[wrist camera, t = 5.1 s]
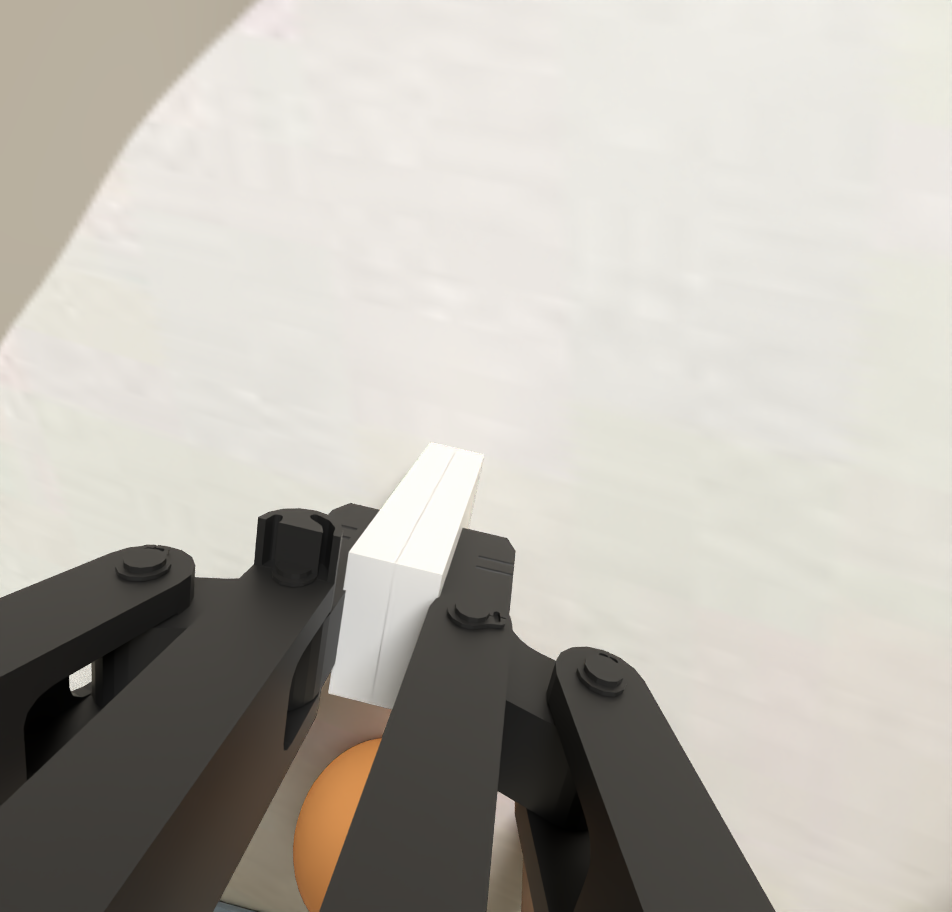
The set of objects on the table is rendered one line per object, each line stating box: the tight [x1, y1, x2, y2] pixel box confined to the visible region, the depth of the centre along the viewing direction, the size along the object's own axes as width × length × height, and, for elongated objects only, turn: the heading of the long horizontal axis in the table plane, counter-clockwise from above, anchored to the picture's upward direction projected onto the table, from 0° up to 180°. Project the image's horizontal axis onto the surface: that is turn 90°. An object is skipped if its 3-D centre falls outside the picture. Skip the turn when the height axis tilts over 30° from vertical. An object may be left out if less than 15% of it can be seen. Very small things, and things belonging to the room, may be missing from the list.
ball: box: [293, 738, 382, 912], centre depth 18 cm, size 6×6×6 cm
